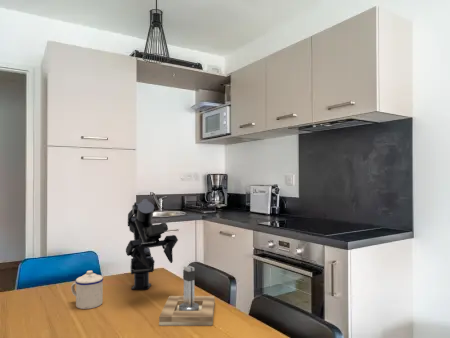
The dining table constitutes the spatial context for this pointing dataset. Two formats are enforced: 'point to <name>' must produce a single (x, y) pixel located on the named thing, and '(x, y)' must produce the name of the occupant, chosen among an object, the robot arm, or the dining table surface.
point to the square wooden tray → (188, 312)
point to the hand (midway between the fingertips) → (160, 264)
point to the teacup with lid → (88, 290)
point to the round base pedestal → (189, 290)
